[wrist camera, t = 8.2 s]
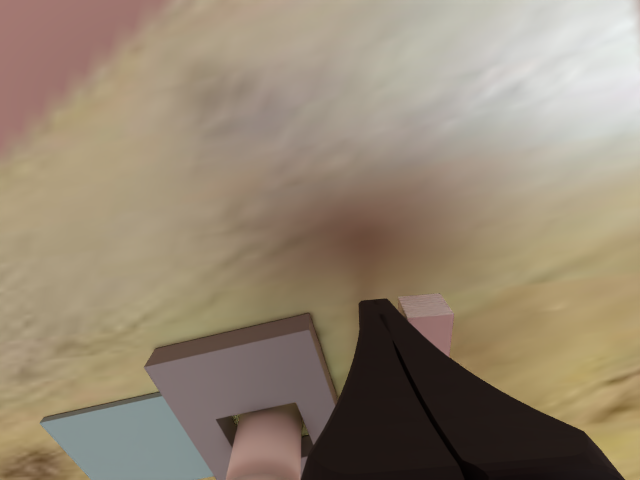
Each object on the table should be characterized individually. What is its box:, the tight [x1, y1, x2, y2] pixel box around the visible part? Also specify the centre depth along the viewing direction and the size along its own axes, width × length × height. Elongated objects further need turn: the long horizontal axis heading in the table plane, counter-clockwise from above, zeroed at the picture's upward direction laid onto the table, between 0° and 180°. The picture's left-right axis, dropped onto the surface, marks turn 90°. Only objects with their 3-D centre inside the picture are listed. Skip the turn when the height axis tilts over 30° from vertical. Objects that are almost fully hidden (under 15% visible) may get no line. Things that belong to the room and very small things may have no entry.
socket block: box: [144, 313, 338, 480], centre depth 22 cm, size 16×10×2 cm, turn 14°
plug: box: [226, 403, 302, 480], centre depth 20 cm, size 5×5×6 cm
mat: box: [40, 392, 214, 480], centre depth 23 cm, size 9×9×1 cm
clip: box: [398, 293, 454, 357], centre depth 14 cm, size 14×2×1 cm, turn 4°
